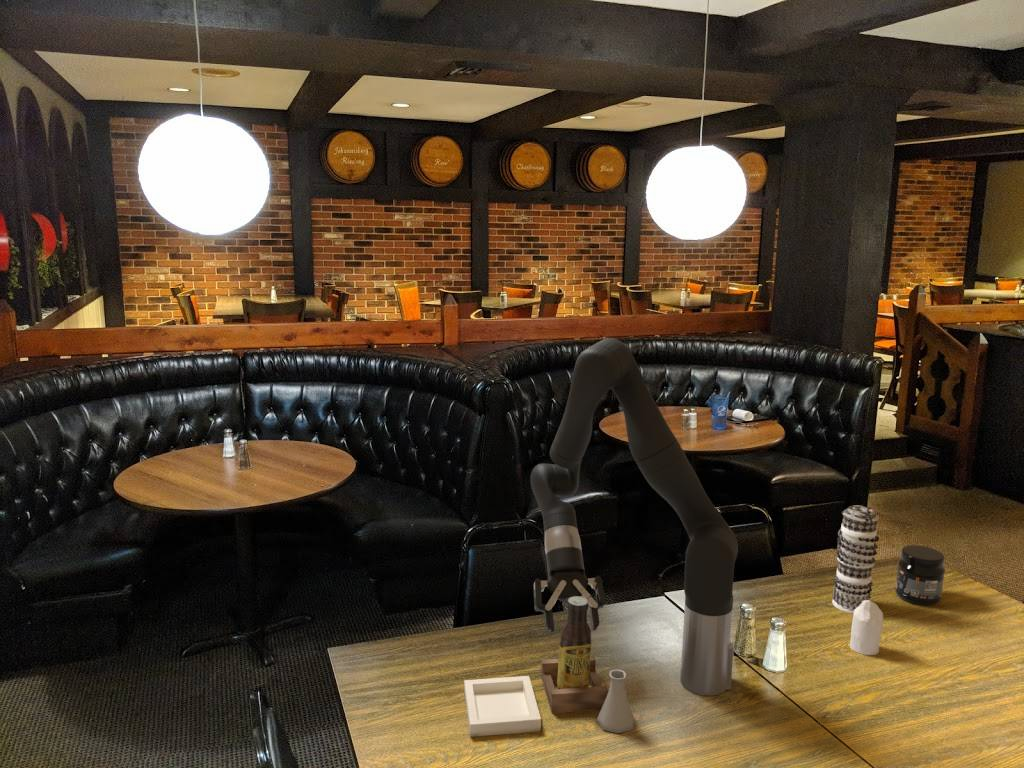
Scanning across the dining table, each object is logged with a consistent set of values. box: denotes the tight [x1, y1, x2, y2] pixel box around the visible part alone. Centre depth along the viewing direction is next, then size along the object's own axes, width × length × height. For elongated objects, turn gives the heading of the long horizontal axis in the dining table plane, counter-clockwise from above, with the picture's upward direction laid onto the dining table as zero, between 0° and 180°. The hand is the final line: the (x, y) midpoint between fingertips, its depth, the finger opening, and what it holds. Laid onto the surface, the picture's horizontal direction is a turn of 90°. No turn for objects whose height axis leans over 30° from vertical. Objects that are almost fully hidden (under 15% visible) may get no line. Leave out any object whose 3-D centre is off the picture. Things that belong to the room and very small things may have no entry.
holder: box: [540, 655, 609, 714], centre depth 157 cm, size 11×12×4 cm
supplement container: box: [894, 544, 946, 607], centre depth 197 cm, size 10×10×12 cm
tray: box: [463, 675, 542, 738], centre depth 152 cm, size 13×14×2 cm
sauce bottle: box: [556, 596, 592, 689], centre depth 156 cm, size 6×6×20 cm
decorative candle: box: [832, 504, 880, 615], centre depth 191 cm, size 9×9×25 cm
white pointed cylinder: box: [849, 599, 884, 656], centre depth 173 cm, size 6×12×6 cm
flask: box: [596, 669, 636, 734], centre depth 148 cm, size 7×7×10 cm
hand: (573, 630), depth 156 cm, fingers open, 8 cm apart
